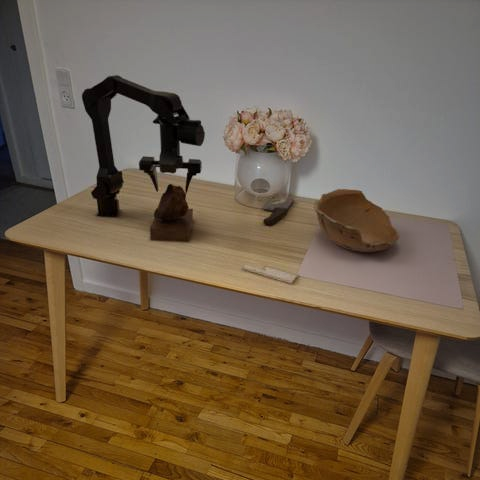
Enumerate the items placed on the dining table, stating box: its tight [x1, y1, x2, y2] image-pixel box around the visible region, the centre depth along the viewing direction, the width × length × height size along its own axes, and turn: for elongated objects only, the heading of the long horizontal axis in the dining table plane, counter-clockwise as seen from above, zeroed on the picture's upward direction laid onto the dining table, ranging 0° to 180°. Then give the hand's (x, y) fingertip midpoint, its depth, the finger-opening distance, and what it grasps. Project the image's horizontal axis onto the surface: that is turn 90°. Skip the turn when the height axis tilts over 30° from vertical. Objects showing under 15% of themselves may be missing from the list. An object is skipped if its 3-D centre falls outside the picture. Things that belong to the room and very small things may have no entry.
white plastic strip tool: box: [243, 264, 299, 284], centre depth 125 cm, size 5×15×1 cm, turn 63°
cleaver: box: [261, 197, 295, 226], centre depth 164 cm, size 29×10×2 cm, turn 162°
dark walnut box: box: [149, 208, 194, 243], centre depth 145 cm, size 12×18×4 cm, turn 0°
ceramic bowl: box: [313, 188, 400, 253], centre depth 143 cm, size 30×27×15 cm
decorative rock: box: [153, 183, 190, 221], centre depth 140 cm, size 12×6×11 cm, turn 133°
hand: (171, 192), depth 139 cm, fingers open, 9 cm apart
